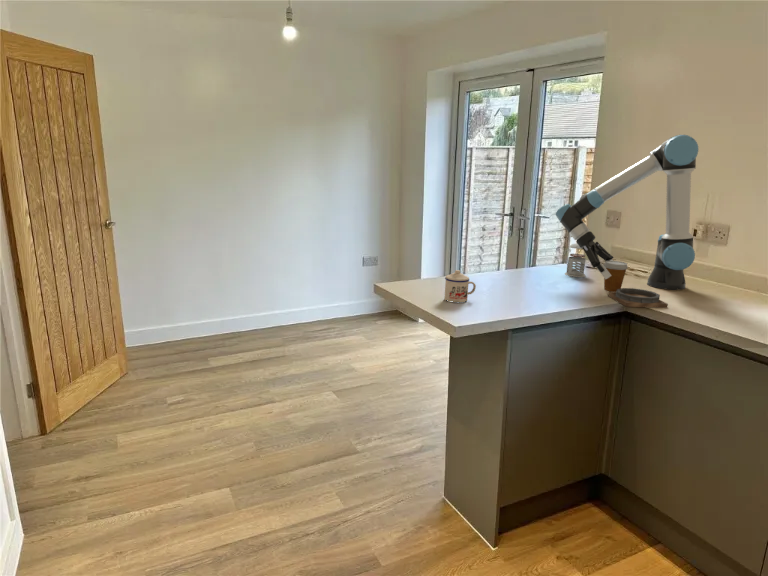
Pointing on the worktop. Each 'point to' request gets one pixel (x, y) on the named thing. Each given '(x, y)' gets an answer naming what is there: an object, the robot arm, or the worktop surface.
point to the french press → (576, 259)
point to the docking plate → (634, 304)
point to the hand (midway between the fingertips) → (613, 275)
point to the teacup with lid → (457, 287)
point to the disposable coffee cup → (614, 275)
